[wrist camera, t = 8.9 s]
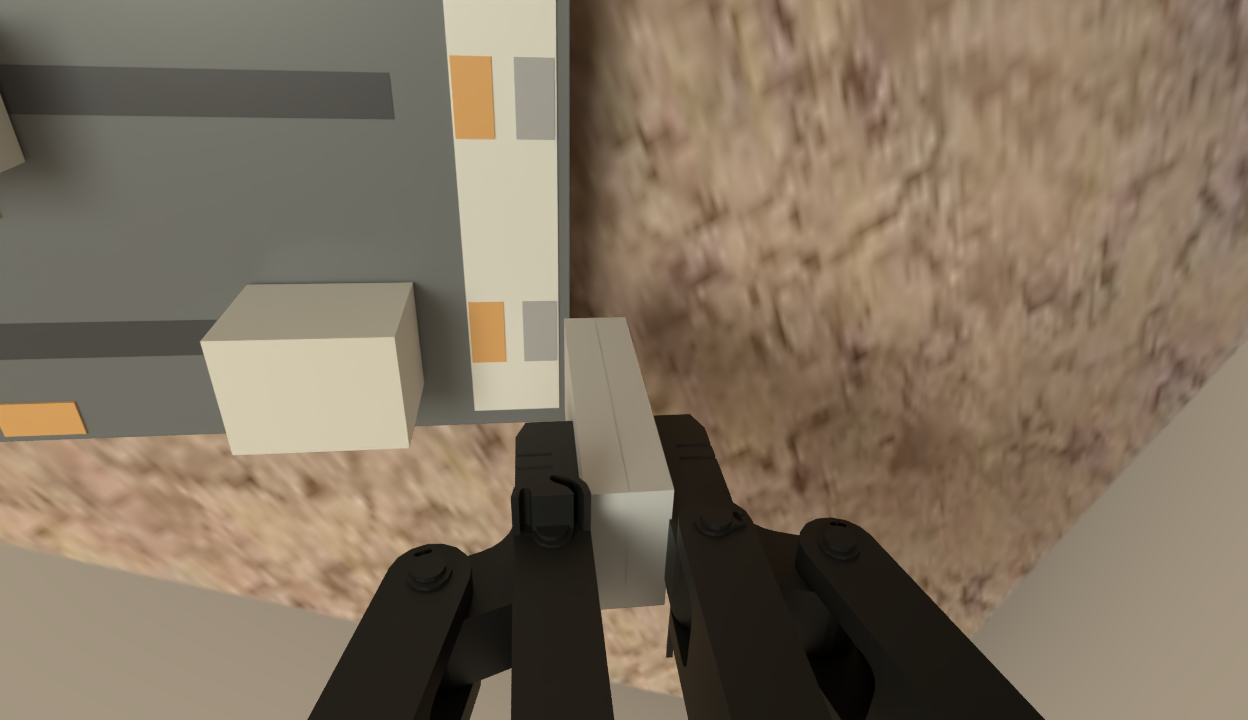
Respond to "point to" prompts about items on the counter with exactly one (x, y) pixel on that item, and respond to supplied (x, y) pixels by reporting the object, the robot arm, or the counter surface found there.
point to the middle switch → (8, 142)
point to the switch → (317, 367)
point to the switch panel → (278, 196)
